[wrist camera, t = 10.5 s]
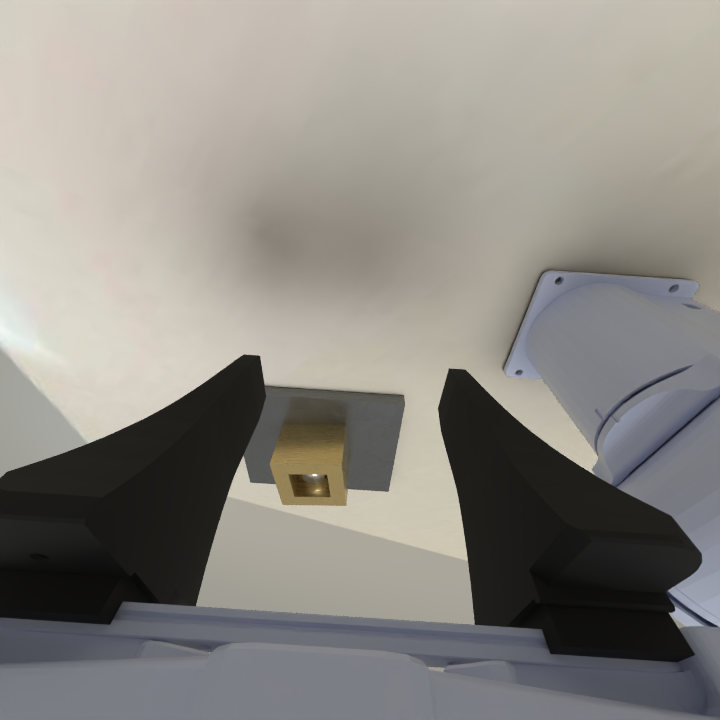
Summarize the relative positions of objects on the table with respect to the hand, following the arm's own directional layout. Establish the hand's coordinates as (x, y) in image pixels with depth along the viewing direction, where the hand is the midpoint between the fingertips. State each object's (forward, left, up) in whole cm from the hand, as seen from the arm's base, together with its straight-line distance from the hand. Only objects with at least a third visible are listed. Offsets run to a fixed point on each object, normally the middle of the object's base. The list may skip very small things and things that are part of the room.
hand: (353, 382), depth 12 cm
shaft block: (+3, +15, -10) cm, 18 cm away
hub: (+3, +15, -9) cm, 17 cm away
